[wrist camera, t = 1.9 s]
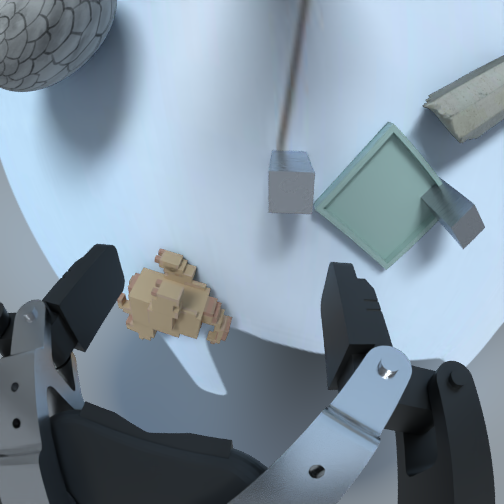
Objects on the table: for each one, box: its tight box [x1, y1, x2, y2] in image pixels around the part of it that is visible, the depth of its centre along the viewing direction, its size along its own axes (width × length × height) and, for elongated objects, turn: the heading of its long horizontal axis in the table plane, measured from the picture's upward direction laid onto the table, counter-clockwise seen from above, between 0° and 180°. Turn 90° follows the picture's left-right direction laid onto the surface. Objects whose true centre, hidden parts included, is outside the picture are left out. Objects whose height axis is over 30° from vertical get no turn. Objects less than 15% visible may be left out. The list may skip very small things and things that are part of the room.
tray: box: [314, 122, 442, 270], centre depth 35 cm, size 16×16×2 cm
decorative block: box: [423, 55, 504, 143], centre depth 20 cm, size 8×30×8 cm, turn 129°
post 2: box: [421, 178, 485, 249], centre depth 30 cm, size 4×4×10 cm
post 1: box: [269, 150, 315, 214], centre depth 31 cm, size 4×4×10 cm
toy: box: [117, 249, 232, 344], centre depth 46 cm, size 10×20×20 cm
